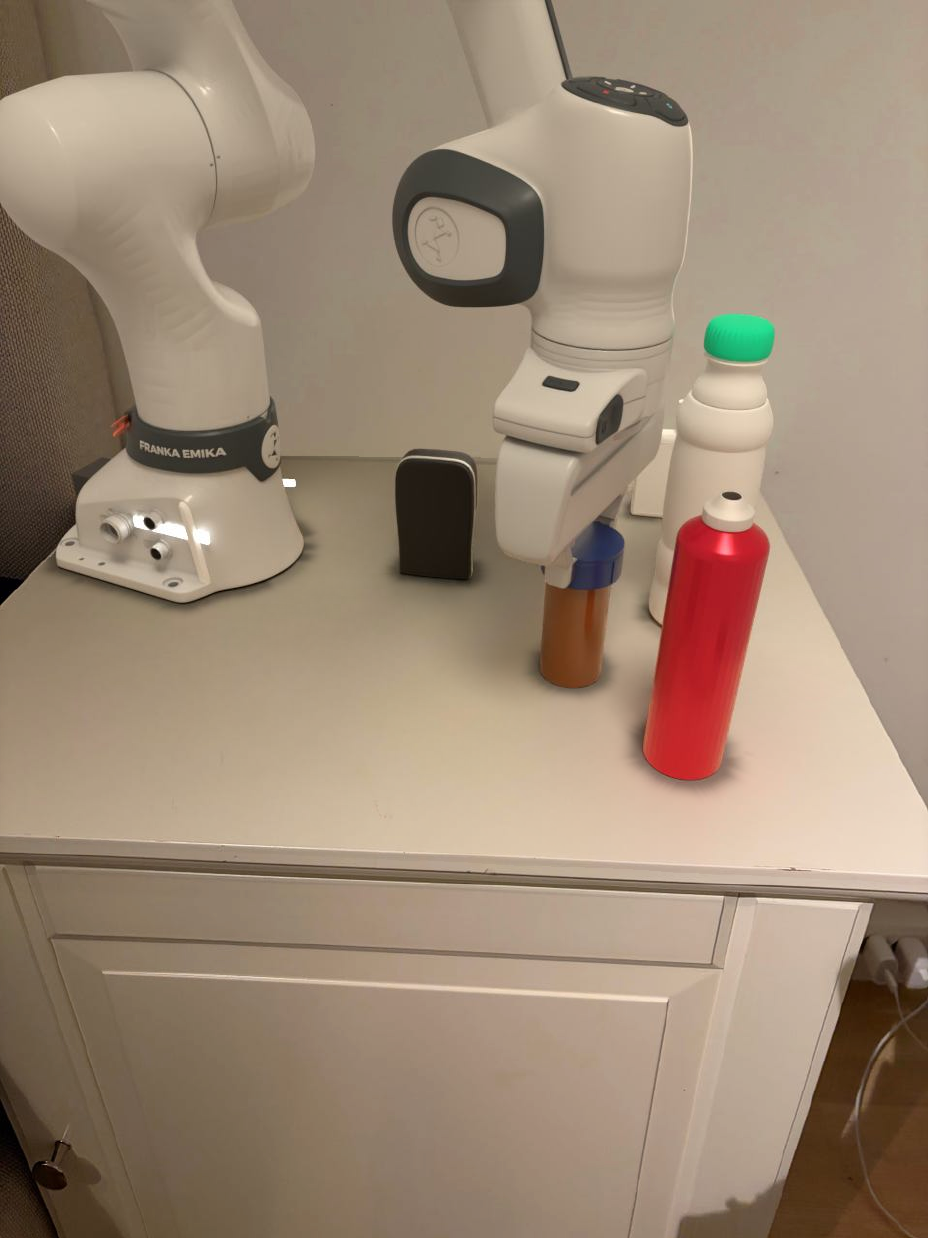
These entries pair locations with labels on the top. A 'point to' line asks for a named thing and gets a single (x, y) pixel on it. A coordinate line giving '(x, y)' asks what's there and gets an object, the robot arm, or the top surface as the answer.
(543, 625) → the jar
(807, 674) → the top surface
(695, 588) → the bottle
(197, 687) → the top surface
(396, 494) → the battery charger
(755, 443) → the water bottle
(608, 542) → the lid
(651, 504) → the white upright flat block
